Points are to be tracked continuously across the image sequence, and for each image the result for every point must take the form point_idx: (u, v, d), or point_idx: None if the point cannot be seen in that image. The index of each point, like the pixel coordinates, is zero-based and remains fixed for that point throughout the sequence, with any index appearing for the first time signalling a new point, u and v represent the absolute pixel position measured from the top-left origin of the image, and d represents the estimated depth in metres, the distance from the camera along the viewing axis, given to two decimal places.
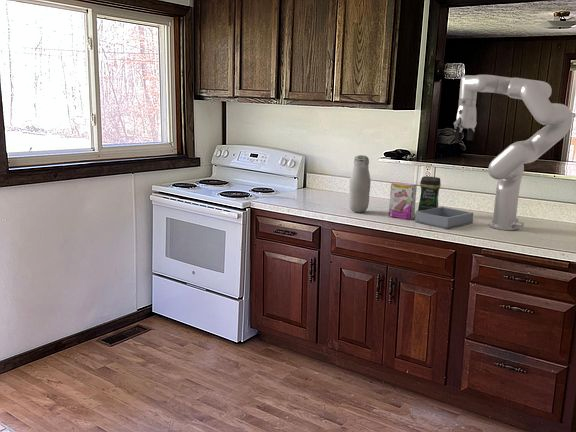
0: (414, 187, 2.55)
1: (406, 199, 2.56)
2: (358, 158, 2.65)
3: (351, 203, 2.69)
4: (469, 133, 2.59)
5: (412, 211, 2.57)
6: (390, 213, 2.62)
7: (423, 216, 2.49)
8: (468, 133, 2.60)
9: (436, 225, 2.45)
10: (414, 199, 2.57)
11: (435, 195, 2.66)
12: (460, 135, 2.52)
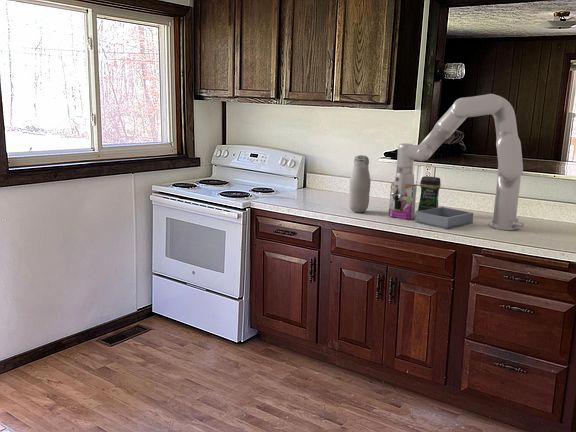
0: (414, 187, 2.55)
1: (406, 199, 2.56)
2: (358, 158, 2.65)
3: (351, 203, 2.69)
4: None
5: (412, 211, 2.57)
6: (390, 213, 2.62)
7: (423, 216, 2.49)
8: None
9: (436, 225, 2.45)
10: (414, 199, 2.57)
11: (435, 195, 2.66)
12: (399, 204, 2.57)
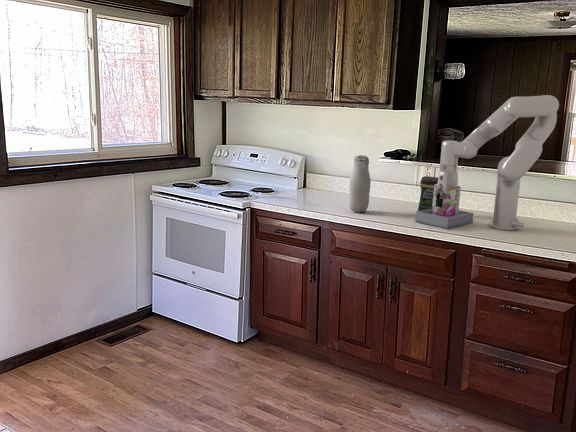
0: (458, 189, 2.46)
1: (449, 202, 2.47)
2: (358, 158, 2.65)
3: (351, 203, 2.69)
4: None
5: (456, 214, 2.48)
6: None
7: (423, 216, 2.49)
8: None
9: (436, 225, 2.45)
10: (458, 201, 2.48)
11: None
12: (441, 201, 2.47)
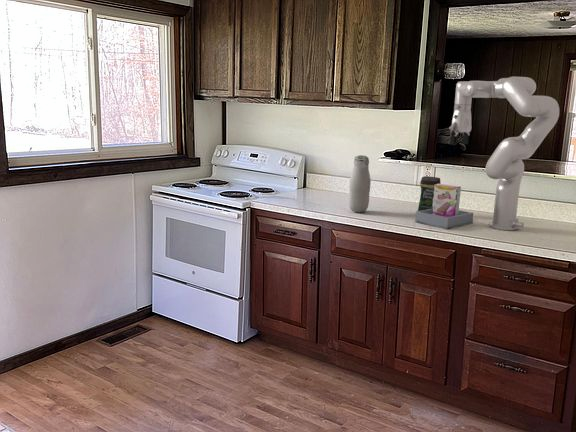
0: (458, 189, 2.46)
1: (449, 201, 2.48)
2: (358, 158, 2.65)
3: (351, 203, 2.69)
4: (464, 137, 2.68)
5: (456, 214, 2.48)
6: None
7: (423, 216, 2.49)
8: (463, 137, 2.69)
9: (436, 225, 2.45)
10: (458, 201, 2.48)
11: None
12: (455, 139, 2.61)
